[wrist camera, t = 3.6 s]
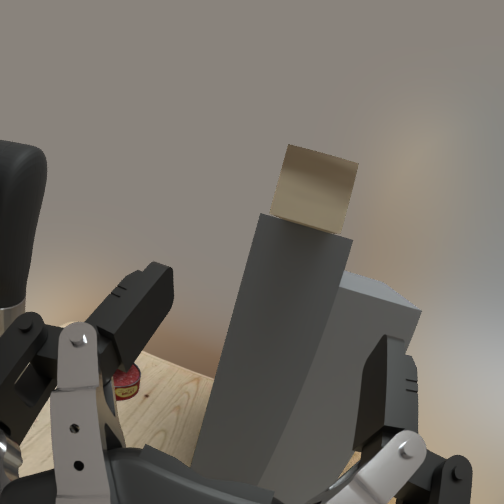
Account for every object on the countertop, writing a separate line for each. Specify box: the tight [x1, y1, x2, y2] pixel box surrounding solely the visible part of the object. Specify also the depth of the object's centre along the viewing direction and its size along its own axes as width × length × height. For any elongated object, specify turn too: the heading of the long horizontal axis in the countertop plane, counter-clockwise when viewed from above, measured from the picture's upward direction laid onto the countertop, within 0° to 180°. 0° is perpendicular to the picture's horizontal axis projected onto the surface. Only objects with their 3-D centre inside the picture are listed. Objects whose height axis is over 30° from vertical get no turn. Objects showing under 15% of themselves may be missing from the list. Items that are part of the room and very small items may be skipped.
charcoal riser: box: [190, 213, 422, 504], centre depth 34 cm, size 16×16×32 cm
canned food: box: [113, 363, 141, 401], centre depth 44 cm, size 11×10×10 cm
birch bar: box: [269, 144, 358, 234], centre depth 28 cm, size 24×4×4 cm, turn 168°
